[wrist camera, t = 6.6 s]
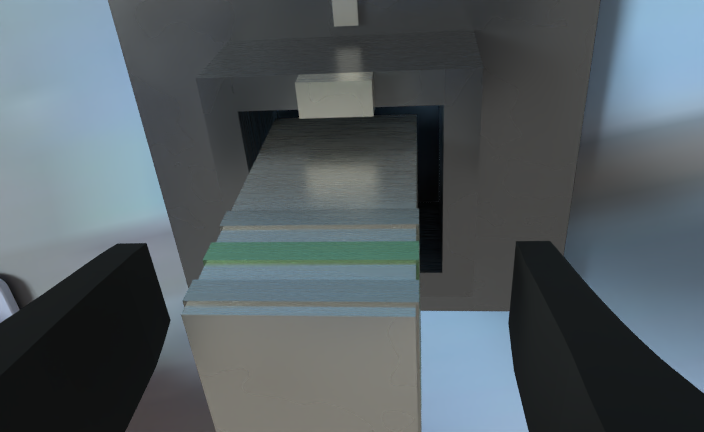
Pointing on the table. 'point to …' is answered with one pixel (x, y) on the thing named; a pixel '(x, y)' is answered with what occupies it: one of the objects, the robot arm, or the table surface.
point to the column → (316, 284)
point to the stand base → (360, 101)
